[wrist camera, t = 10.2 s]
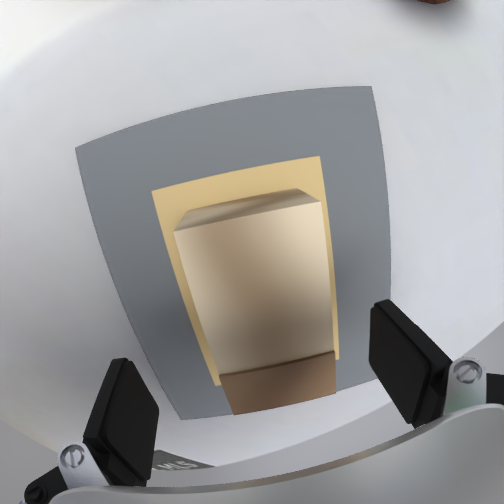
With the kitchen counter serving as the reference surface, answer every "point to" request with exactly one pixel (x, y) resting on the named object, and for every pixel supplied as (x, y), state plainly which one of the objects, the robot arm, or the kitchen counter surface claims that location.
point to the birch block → (263, 296)
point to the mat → (232, 188)
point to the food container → (433, 1)
